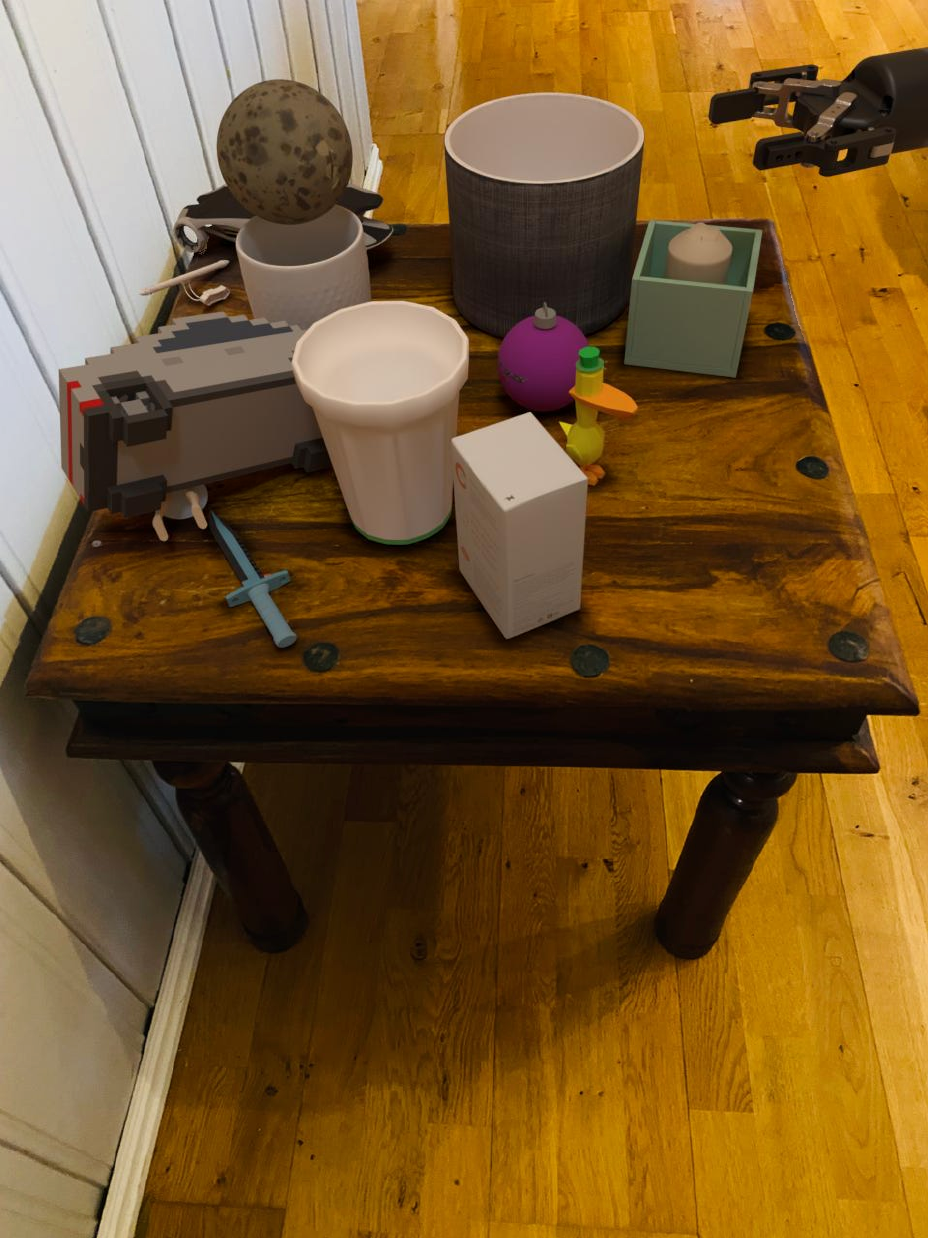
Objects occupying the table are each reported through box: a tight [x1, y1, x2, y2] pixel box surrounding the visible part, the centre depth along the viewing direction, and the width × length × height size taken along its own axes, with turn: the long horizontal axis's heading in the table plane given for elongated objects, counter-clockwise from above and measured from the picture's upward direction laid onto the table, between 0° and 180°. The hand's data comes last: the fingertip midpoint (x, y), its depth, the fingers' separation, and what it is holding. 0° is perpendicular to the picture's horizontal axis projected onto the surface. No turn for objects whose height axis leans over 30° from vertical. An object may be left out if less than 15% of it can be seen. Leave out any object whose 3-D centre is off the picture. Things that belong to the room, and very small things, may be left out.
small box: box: [451, 411, 589, 640], centre depth 70 cm, size 8×6×13 cm
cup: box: [291, 300, 470, 546], centre depth 75 cm, size 12×12×15 cm
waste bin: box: [623, 219, 763, 379], centre depth 90 cm, size 10×10×9 cm
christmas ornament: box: [496, 302, 590, 413], centre depth 85 cm, size 8×8×10 cm
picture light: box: [138, 259, 231, 306], centre depth 101 cm, size 14×4×2 cm, turn 154°
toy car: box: [58, 310, 333, 519], centre depth 77 cm, size 9×24×10 cm
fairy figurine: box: [152, 484, 209, 542], centre depth 80 cm, size 12×5×12 cm
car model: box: [172, 183, 394, 254], centre depth 106 cm, size 11×24×5 cm, turn 66°
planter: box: [443, 92, 646, 339], centre depth 94 cm, size 18×18×16 cm
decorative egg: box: [216, 78, 354, 225], centre depth 82 cm, size 11×11×15 cm
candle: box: [665, 222, 732, 285], centre depth 89 cm, size 6×6×10 cm
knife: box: [208, 509, 298, 649], centre depth 76 cm, size 17×1×5 cm
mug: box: [235, 205, 372, 330], centre depth 90 cm, size 15×11×13 cm
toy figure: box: [558, 346, 639, 487], centre depth 77 cm, size 7×4×12 cm, turn 53°
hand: (732, 132), depth 79 cm, fingers open, 8 cm apart
